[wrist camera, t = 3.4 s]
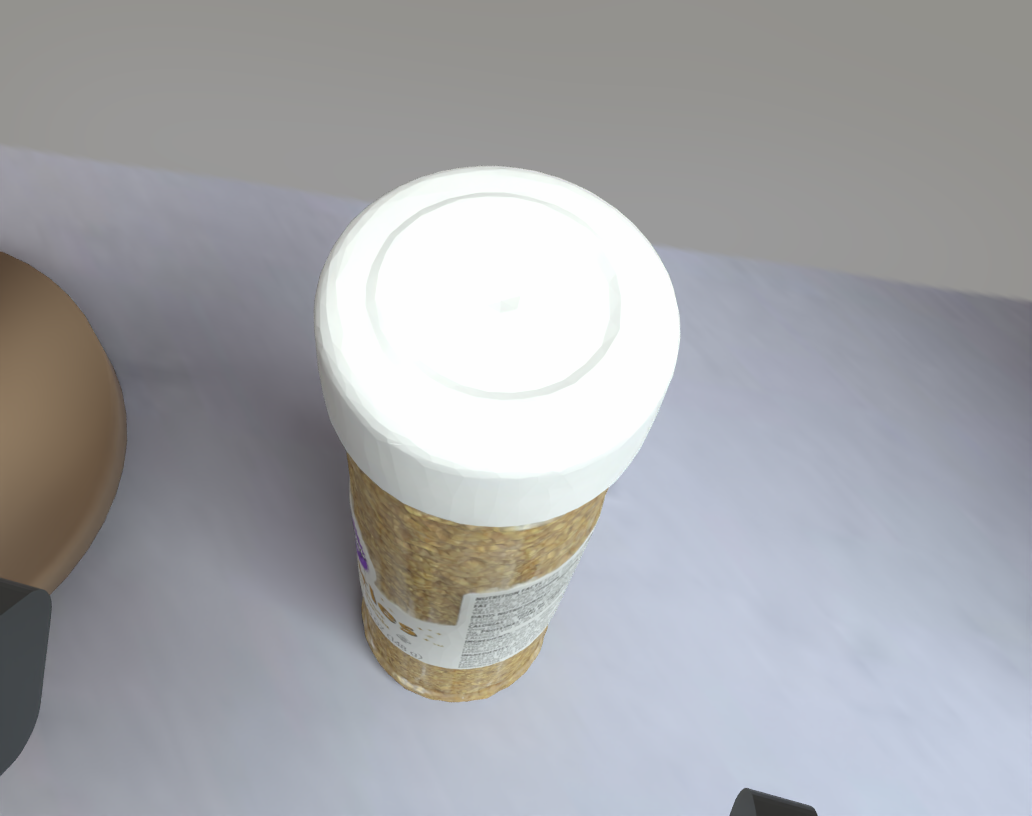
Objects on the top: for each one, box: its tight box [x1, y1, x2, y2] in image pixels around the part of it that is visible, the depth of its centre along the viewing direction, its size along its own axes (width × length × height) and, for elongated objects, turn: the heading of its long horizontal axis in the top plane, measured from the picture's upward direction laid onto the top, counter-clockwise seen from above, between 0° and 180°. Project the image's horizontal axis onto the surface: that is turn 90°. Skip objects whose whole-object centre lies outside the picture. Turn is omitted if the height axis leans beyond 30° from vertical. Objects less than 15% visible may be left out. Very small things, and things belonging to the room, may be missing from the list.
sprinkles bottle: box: [314, 166, 680, 702], centre depth 17 cm, size 5×5×13 cm
